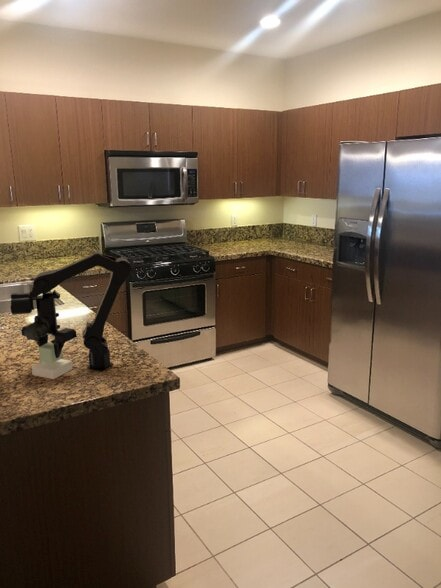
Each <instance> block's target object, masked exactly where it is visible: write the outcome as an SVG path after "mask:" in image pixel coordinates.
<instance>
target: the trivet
mask: <svg viewBox="0 0 441 588" xmlns="http://www.w3.org/2000/svg"><path fill="white" fill-rule="evenodd" d="M72 370H73V361H72V360H68V359H63V358H62V359H60V360H58V361H56V362H54V363H47V362H41V361H40V362H38V363H36V364H34V365H32V366H31V373H32V376H36V377H41V378H46V379H51V380H55V379H57V378H59V377H61V376H63V375H64V374H66V373H68V372H70V371H72Z"/></svg>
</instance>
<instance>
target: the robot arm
mask: <svg viewBox="0 0 441 588" xmlns="http://www.w3.org/2000/svg"><path fill="white" fill-rule="evenodd" d="M95 267H99V268H102V269H105V270H107V271H109V272H110V277H109V282H108V285H107V287H106V289H105V292H104V294H103V296H102V299H101V301H100V303H99V306H98V308H97V311H96V314H94V315H95V316H94V318H93V320H92V321H91V322H88V321H86V323H85V327H84V329H83V330H82V339H83V345H84V347H85V348H86V349H88V363H89V365H88V366H87V368H86V369H88V370H92V371H98V372H104V371H105V370H107V369H108V368H111V367H112V366H113V365H114V363H113V362H111V356H110V355H111V353H110V349H109V346H108V345H109V344H108V339H106V338H105V337H103V336H104V330H105V326H106V323H107V320H108V318H109V315H110V313H111V311H112V308H113V306H114V303H115V301H116V299H117V296H118V294H119V291H120V290H121V287H122V286H123V285H124V284H125V282H126V281H127V279H128V278H129V276H130V275H131V273H132V266H131V263H130V262H129V260H128V259H127V258H125V257H118V258H117V257H114V256H111V255H107V254H103V253H101V252H99V251H96V252H95V251H94V252H93V253H91V254H89V255H87V256H85V257H83V258H81V259H79V260H76V261H73V262H72V263H70V264H67V265H65V266H63V267H60V268H57V269H51V270H48V271H43V272H40V273H38V274H37V275H36V276H35V277H34V280H33V282H32V283H33V287H32V288H30V290H29V291H28V292H21V293H18V292H15V293H11V294H10V312H11V315H12V316H16V315H25V314H27V315H28V314H32V312H33V311H35V309H36V314H37V315H34V318H33V319H34V322H32V323H29V324H27V325H24V326H22V328H21V336H24V337H26V339H27V340H29V341H30V340H32V341H35V342H36V344H37V346H38V348H39V347H40V346H42V345H44V344H47V343H49V336H52V337H54V339H52V340H50V342H51V343H53V344H54V351H55V356H56V358H59V356H60V353H61V351H62V352H63V348H64V346H65V344H66V343H67V342H69V341H71V340H73V339H75V338H77V337H78V336H77V330H76V329H75V328H69V327H64V328H63V329H60V328H61V325H60V324H58V321H57V318H58V317H60V316H59V315H60V314H59V313H58V312H57V310H56V302H55V301H56V299H60V298H61V293H59V292H57V290H55V288H56V287H58V286H59V285H61V284H62V283H63V282H64V281H67V280H69V279H70V278H73V277H75V276H77V275H79V274H82V273H84V272H86V271H89V270H90V269H93V268H95ZM52 290H53V291H52ZM51 291H52V292H51ZM41 294H42V295H41ZM35 305H36V306H35Z"/></svg>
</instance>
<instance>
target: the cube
mask: <svg viewBox="0 0 441 588" xmlns="http://www.w3.org/2000/svg"><path fill="white" fill-rule="evenodd" d="M38 353H39V355H38V356H39V361H40V362H47V363H54V362H56V361H58V360H60V359H63V350H62V351H61V353H60V356H59V358H56V356H55V351H54V344H53V343H52V342H49V341H48V343H47V344H44V345H42V346H40V347H39V346H38Z"/></svg>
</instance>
